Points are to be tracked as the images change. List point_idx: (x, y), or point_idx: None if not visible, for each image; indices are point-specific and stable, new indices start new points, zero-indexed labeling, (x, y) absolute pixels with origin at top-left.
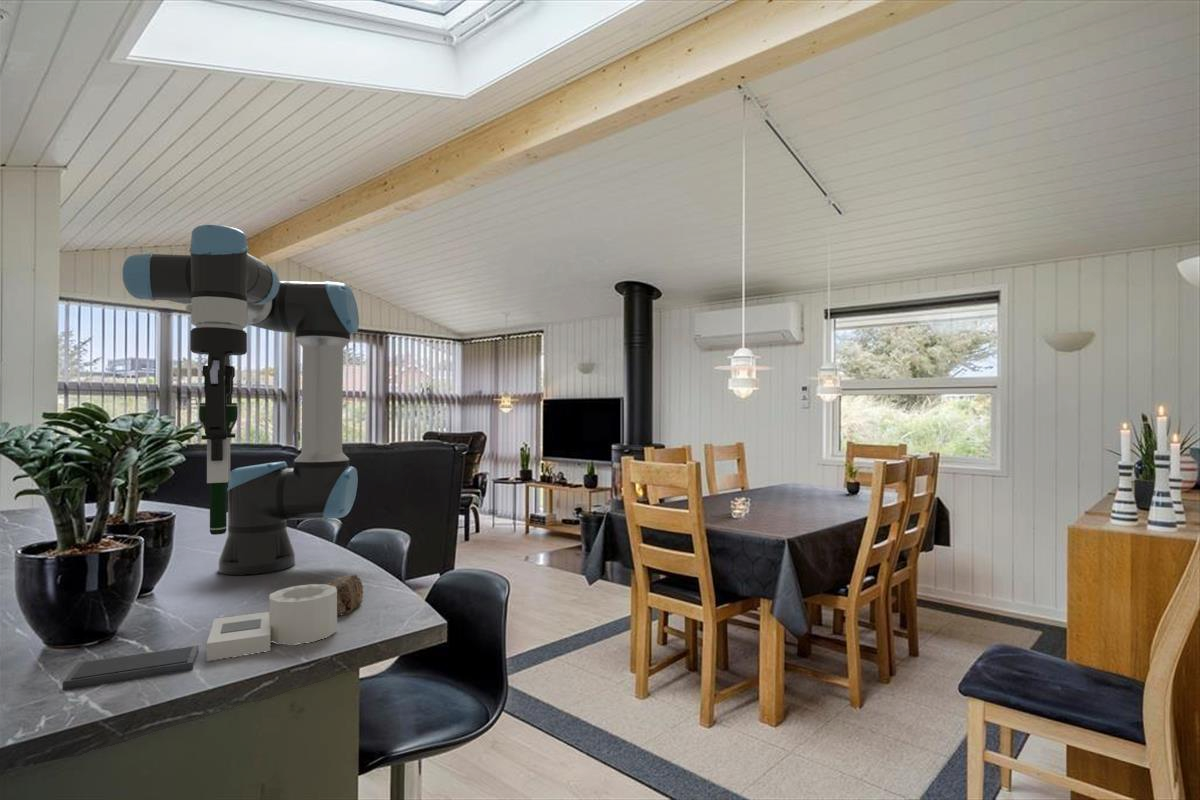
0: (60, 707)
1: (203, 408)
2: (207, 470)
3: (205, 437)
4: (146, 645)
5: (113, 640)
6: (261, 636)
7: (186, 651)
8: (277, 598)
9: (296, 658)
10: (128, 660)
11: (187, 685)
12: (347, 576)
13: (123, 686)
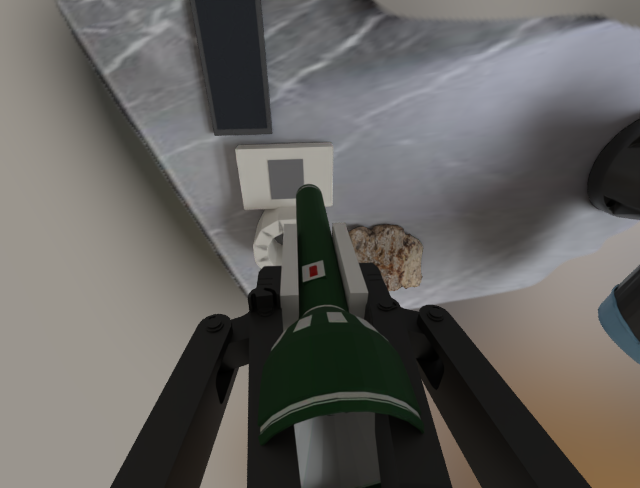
0: (135, 5)
1: (275, 398)
2: (284, 240)
3: (252, 302)
4: (326, 64)
5: (371, 10)
6: (243, 201)
7: (252, 124)
8: (276, 228)
9: (219, 225)
10: (242, 59)
11: (171, 135)
12: (388, 283)
13: (185, 66)
